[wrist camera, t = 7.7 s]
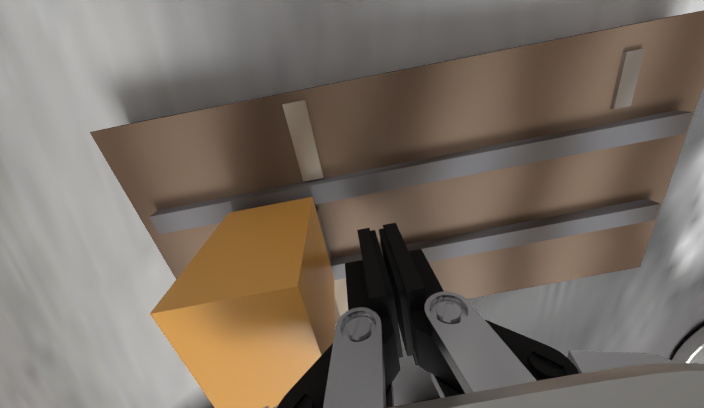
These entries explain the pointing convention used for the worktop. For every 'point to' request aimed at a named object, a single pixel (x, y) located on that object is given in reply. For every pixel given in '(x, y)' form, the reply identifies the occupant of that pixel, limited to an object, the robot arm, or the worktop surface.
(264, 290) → the fader tab
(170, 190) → the board
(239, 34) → the worktop surface
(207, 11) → the worktop surface
